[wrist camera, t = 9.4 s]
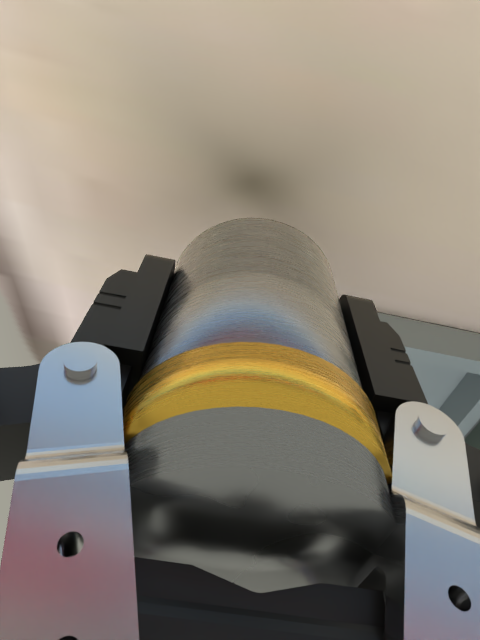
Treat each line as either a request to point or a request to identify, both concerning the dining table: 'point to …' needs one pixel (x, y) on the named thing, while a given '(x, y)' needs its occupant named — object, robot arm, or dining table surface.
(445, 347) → the tray
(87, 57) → the dining table surface
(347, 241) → the dining table surface
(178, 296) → the grey gold-banded metal jar
